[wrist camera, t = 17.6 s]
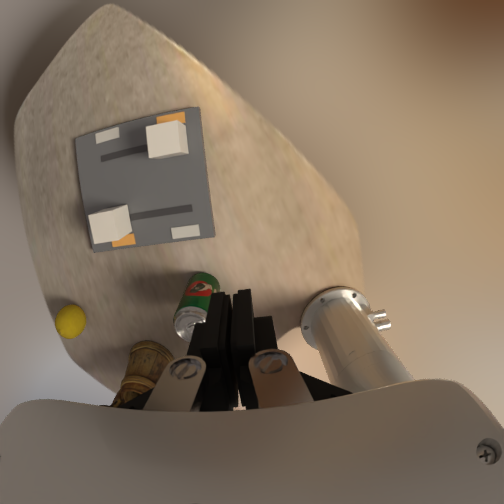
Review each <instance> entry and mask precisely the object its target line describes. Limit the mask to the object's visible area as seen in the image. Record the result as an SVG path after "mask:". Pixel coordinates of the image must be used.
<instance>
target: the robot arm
mask: <svg viewBox="0 0 504 504" xmlns="http://www.w3.org/2000/svg"><path fill="white" fill-rule="evenodd" d="M321 298H322V299H321ZM384 317H386V311H385V310H384V309H383V310H378V311H375V312H373V311H371V309H370V305H369V303H368V301H367V299H366V298H365V297H364V295H363V294H361V293H360V292H359V291H357V290H355V289H353V288H349V287H336V288H332V289H329V290H326V291H324V292H322V293H320V294H319V295H318V296H316V297H315V298H314V299H313V300H312V301H311V302H310V303H309V304H308V306H307V307H306V308H305V310H304V312H303V315H302V318H301V331H302V334H303V337H304V339H305V340H306V342H307V343H308V344H309V345H310V346H311V347H313V348H315V349H317V350H318V351H319V353H320V356H321V359H322V361H323V364H324V367H325V369H326V372H327V374H328V377H329V380H330V383H331V384H329V383H327V382H324V381H322V380H319V379H317V378H314V377H312V376H309V375H307V374H305V373H302V372H300V371H299V370H298V368H297V366H296V364H295V362H294V360H293V359H292V357H291V356H290V354H288V353H287V352H285V351H283V350H279V349H278V347H277V342H276V337H275V331H274V326H273V321H272V316H266V317H257V318H254V313H253V305H252V297H251V289H245V290H238V294H233V307H232V305H231V299H230V295H225V292H216V293H212V294H211V298H210V302H209V307H208V312H207V316H206V321H205V322H203V323H195V326H194V330H193V333H192V337H191V341H190V345H189V348H188V352H187V356H182V357H178V358H176V359H174V360H172V361H171V362H170V363H169V364H168V365H167V366H166V368H165V369H164V371H163V373H162V375H161V377H160V379H159V380H158V382H157V384H156V386H155V387H153V388H152V389H150V390H148V391H146V392H144V393H143V394H141V395H139V396H137V397H135V398H133V399H132V400H130V401H128V402H126V403H124V404H122V405H120V406H119V407H117V408H113V407H105V406H98V405H91V404H84V403H77V402H70V401H64V400H52V399H39V400H31V401H27V402H24V403H21V404H19V405H17V406H16V407H15V408H14V409H13V410H12V411H11V412H10V413H9V414H8V415H7V417H6V418H5V419H4V421H3V422H2V423H1V425H0V504H504V429H503V427H502V426H501V424H500V423H499V422H498V421H497V419H496V418H495V417H494V415H493V414H492V413H491V411H490V410H489V409H488V408H487V407H486V405H485V404H484V403H483V402H482V401H481V400H480V399H479V398H478V397H477V396H476V395H475V394H474V393H473V392H472V391H471V390H469V389H468V388H467V387H465V386H464V385H463V384H461V383H459V382H456V381H453V380H448V379H420V380H415V379H414V378H413V377H412V375H411V374H410V373H409V371H408V370H407V369H406V368H405V366H404V365H403V364H402V362H401V361H400V359H399V358H398V356H397V355H396V354H395V352H394V351H393V349H392V348H391V347H390V345H389V344H388V342H387V341H386V340H385V338H384V337H383V336H382V334H381V333H380V331H385V330H389V329H390V327H391V323H390V320H389V319H385V320H381V321H378V322H373V321H374V319H377V318H384ZM238 389H239V394H240V398H241V403H242V407H244V406H246V410H236V411H233V407H238Z"/></svg>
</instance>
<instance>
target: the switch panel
mask: <svg viewBox="0 0 504 504" xmlns="http://www.w3.org/2000/svg"><path fill="white" fill-rule="evenodd" d="M175 120H178V121H179V122H181V123H182V124H184V125H185V126H186V134H187V143H188V152H189V154H184V155H179V156H173V157H168V158H162V159H154V158H149V153H148V144H147V134H146V127H147V126H152V125H156V124H161V123H165V122H170V121H175ZM75 142H76V154H77V163H78V172H79V179H80V186H81V193H82V199H83V205H84V210H85V216H86V221H87V226H88V231H89V235H90V240H91V244H92V248H93V252H94V253H96V252H103V251H110V250H117V249H124V248H132V247H139V246H147V245H155V244H162V243H170V242H178V241H186V240H194V239H202V238H211V237H215V235H216V234H215V227H214V220H213V213H212V205H211V198H210V190H209V182H208V174H207V166H206V158H205V149H204V140H203V131H202V122H201V112H200V108H199V107H193V108H187V109H182V110H177V111H172V112H167V113H162V114H158V115H153V116H149V117H145V118H141V119H137V120H133V121H129V122H126V123H122V124H119V125H115V126H112V127H108V128H105V129H102V130H99V131H96V132H93V133H90V134H87V135H84V136H81V137H78V138H75ZM122 205H127V206H128V211H129V217H130V222H131V228H132V232H130V233H129V234H127V235H126V236H124V237H123V238H121V239H120V240H117V241H111V242H104V243H98V244H94V240H93V236H92V231H91V227H90V222H89V217H88V215H90V214H93V213H95V212H98V211H101V210H103V209H107V208H112V207H117V206H122Z"/></svg>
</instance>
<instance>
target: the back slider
mask: <svg viewBox="0 0 504 504" xmlns="http://www.w3.org/2000/svg"><path fill="white" fill-rule="evenodd" d="M88 217H89V222H90V227H91V231H92V236H93V240H94V244H98V243H104V242H111V241H117V240H120V239H121V238H123V237H124V236H126V235H127V234H129V233H130V232H132V228H131V222H130V217H129V211H128V206H127V205H122V206H117V207H112V208H107V209H103V210H101V211H98V212H95V213H93V214H90V215H88Z"/></svg>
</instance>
